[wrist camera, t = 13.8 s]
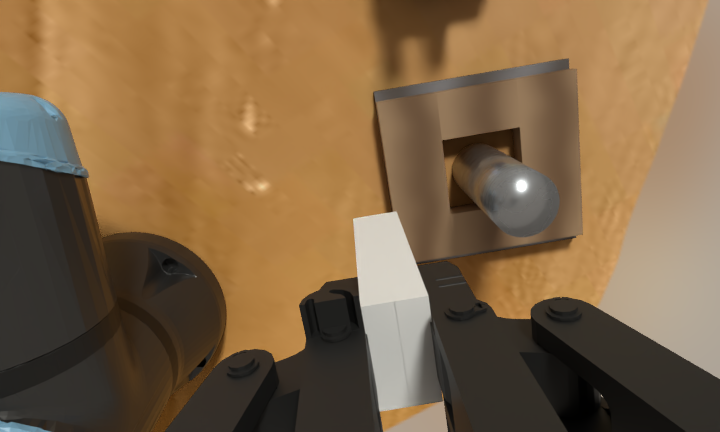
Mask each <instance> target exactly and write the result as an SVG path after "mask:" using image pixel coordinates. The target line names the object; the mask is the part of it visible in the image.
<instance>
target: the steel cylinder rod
mask: <svg viewBox="0 0 720 432" xmlns="http://www.w3.org/2000/svg"><path fill="white" fill-rule="evenodd" d="M452 174H453V178H454V180H455V182H456V183H457V185H458V186H459V187H460V188H461V189H462V190H463V191H464V192H465V193H466V194H467V195H468V196H469V197H470V198H471V199H472V200H473V201H474V202H475V203H476V204H477V205H478V207H479V208H480V209H481V210H482V211H483V212H484V213H485V214H486V215H487V216H488V217H489V218H490V219H491V220H492V221H493V222H494V223H495V224H496V225H497V226H498V227H499V228H500V229H501V230H502V231H503V232H505V233H506V234H508V235H511V236H514V237H530V236H534V235H536V234H538V233H540V232H542V231H543V230H545V229H546V228H547V227H548V226H549V225H550V224H551V223H552V222H553V220H554V219H555V217H556V215H557V213H558V209H559V204H560V199H559V193H558V190H557V188H556V186H555V184H554V183H553V182H552V180H550V179H549V178H548V177H547V176H545V175H543V174H542V173H540V172H538V171H536V170H534V169H532V168H530V167H529V166H527V165H525V164H523V163H521V162H519V161H518V160H516V159H514V158H512V157H510V156H508V155H506V154H505V153H503V152H501V151H499V150H497V149H495V148H493V147H492V146H490V145H487V144H483V143H475V144H471V145H468V146H466V147H465V148H463V149H462V150H461V151H460V152H459V153H458V154H457V156H456V157H455V159H454V162H453V166H452Z"/></svg>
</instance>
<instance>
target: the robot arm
mask: <svg viewBox="0 0 720 432" xmlns="http://www.w3.org/2000/svg"><path fill="white" fill-rule="evenodd" d="M88 177H89V174H88V171H87V170H86V169H85V168H84V167H83V166H82V164H81V161H80V158H79V155H78V152H77V149H76V146H75V143H74V140H73V137H72V133H71V130H70V127H69V124H68V122H67V119H66V118H65V116H64V115H63V113H62V112H61V111H60V110H59V109H58V108H57V107H56V106H55V105H53V104H52V103H50V102H49V101H47V100H45V99H42V98H40V97H37V96H33V95H28V94H20V93H8V92H0V432H152V431H153V429H154V427H155V425H156V423H157V421H158V420H159V418H160V416H161V414H162V412H163V410H164V408H165V406H166V404H167V402H168V400H169V398H170V396H171V395H172V394H174V393H175V392H176V391H178V390H179V389H180V388H181V387H183V386H184V385H185V384H187V383H188V382H189V381H191V380H192V379H193V378H194V377H196V376H197V375H198V374H199V373H200V372H201V371H202V370H203V369H204V368H205V367H206V366H207V364H208V363H209V362H210V360H211V359H212V357H213V355H214V354H215V352H216V349H217V347H218V345H219V343H220V341H221V338H222V336H223V332H224V329H225V324H226V305H225V300H224V296H223V292H222V290H221V287H220V285H219V283H218V281H217V279H216V277H215V276H214V274H213V273H212V271H211V270H210V269H209V267H208V266H207V265H206V264H205V263H204V262H203V261H202V260H201V259H200V258H199V257H198V256H197V255H196V254H194V253H193V252H192V251H190V250H189V249H188V248H186V247H184V246H183V245H181V244H179V243H177V242H175V241H173V240H170V239H168V238H165V237H162V236H158V235H154V234H149V233H140V232H128V233H119V234H114V235H110V236H106V237H104V238H101V234H100V230H99V226H98V222H97V218H96V214H95V210H94V206H93V202H92V198H91V194H90V190H89V186H88V182H87V178H88ZM353 222H354V235H355V248H356V261H357V273H358V277H355V278H349V279H343V280H337V281H331V282H326V283H325V284H324V285H323V286H322V287H321V289H320V290H318V291H316V292H314V293H312V294H309V295H308V296H307V297H305V298H304V299H303V300H302V301H301V303H300V305H299V307H300V312H301V317H302V321H303V326H304V330H305V335H306V345H305V349H304V350H302V351H301V352H299V353H297V354H296V355H293V356H291V357H289V358H286V359H283V360H281V361H278V362H275V361H274V358H273V356H272V354H271V353H269V352H267V351H265V350H258V349H253V350H243V351H240V352H239V353H238V352H237V353H234V354H232V355H231V356H229V357H227V358H226V359H224V360H222V361H221V362H220V363H219V364H218V365H217V366H216V367H215V368H214V369H213V370H212V371H211V373H210V374H209V375H208V377H207V378H206V379H205V380H204V382H203V383H202V384H201V386H200V387H199V388H198V389H197V391H196V392H195V393H194V395H193V396H192V397H191V398H190V400H189V401H188V402H187V404H186V405H185V406H184V407H183V409H182V410H181V411H180V413H179V414H178V415H177V416H176V418H175V419H174V420H173V421H172V423H171V424H170V425H169V427H168V428H167V429H166V430H165V432H383V429H382V422H381V417H380V411H386V410H392V409H398V408H404V407H410V406H417V405H423V404H429V403H435V402H441V401H443V400H442V393H443V397H444V405H445V412H446V419H447V426H448V432H720V379H718V378H717V377H715V376H713V375H712V374H710V373H708V372H706V371H704V370H703V369H701V368H699V367H698V366H696V365H694V364H693V363H691V362H689V361H687V360H686V359H684V358H682V357H681V356H679V355H677V354H675V353H674V352H672V351H670V350H669V349H667V348H665V347H663V346H661V345H660V344H658V343H656V342H655V341H653V340H651V339H650V338H648V337H646V336H644V335H643V334H641V333H639V332H638V331H636V330H634V329H632V328H631V327H629V326H627V325H626V324H624V323H622V322H620V321H619V320H617V319H615V318H614V317H612V316H610V315H608V314H607V313H605V312H603V311H601V310H600V309H598V308H596V307H595V306H593V305H591V304H589V303H586V302H584V301H582V300H577V299H572V298H568V297H562V298H560V297H555V298H552V299H547V300H543V301H541V302H539V303H537V304H535V305H534V306H533V307H532V309H531V319H506V318H501V317H497V316H496V314H495V313H494V311H493V309H492V308H491V307H490V306H489V305H488V304H487V303H485V302H482V301H480V300H477V299H476V298H475V296H474V294H473V292H472V291H471V289H470V287H469V286H468V284H467V283H466V280H465V279H464V277H463V276H462V273H461V272H460V270H459V268H458V267H457V266H455V265H453V264H451V263H449V262H447V261H444V262H438V263H431V264H425V265H419V266H417V264H416V262H415V259H414V256H413V254H412V251H411V249H410V246H409V243H408V241H407V238H406V235H405V233H404V230H403V227H402V225H401V222H400V219H399V217H398V214H397V212H390V213H384V214H378V215H372V216H366V217H360V218H354V219H353ZM441 390H442V393H441ZM601 395H602V396H603V397H601Z"/></svg>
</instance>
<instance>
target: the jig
mask: <svg viewBox="0 0 720 432" xmlns="http://www.w3.org/2000/svg"><path fill="white" fill-rule="evenodd" d="M374 98H375V104H376V111H377V117H378V124H379V130H380V137H381V143H382V150H383V157H384V163H385V170H386V176H387V183H388V189H389V196H390V202H391V209H392V212H397V214H398V217H399V219H400V222H401V225H402V227H403V230H404V233H405V235H406V238H407V241H408V243H409V246H410V249H411V251H412V254H413V256H414V259H415V262H416V264H421V263H427V262H433V261H439V260H445V259H451V258H457V257H463V256H469V255H475V254H481V253H487V252H493V251H499V250H505V249H511V248H517V247H523V246H529V245H535V244H541V243H547V242H554V241H560V240H566V239H572V238H576V236H577V235H583V224H582V197H581V169H580V142H579V115H578V88H577V69H569V59H561V60H555V61H550V62H544V63H538V64H532V65H526V66H521V67H515V68H509V69H503V70H497V71H491V72H486V73H480V74H474V75H468V76H462V77H456V78H451V79H445V80H439V81H433V82H427V83H421V84H416V85H410V86H404V87H398V88H392V89H387V90H381V91H375V92H374ZM506 129H512V132H513V145H514V158H515V159H516V160H518V161H519V162H521V163H523V164H525V165H527V166H529V167H530V168H532V169H534V170H536V171H538V172H540V173H542V174H543V175H545V176H547V177H548V178H549V179H550V180H552V182H553V183H554V184H555V186H556V188H557V190H558V193H559V199H560V204H559V209H558V213H557V215H556V217H555V219H554V220H553V222H552V223H551V224H550V225H549V226H548V227H547V228H546V229H545V230H543V231H542V232H540V233H538V234H536V235H534V236H530V237H514V236H511V235H508V234H506V233H505V232H503V231H502V230H501V229H500V228H499V227H498V226H497V225H496V224H495V223H494V222H493V221H492V220H491V219H490V218H489V217H488V216H487V215H486V214H485V213H484V212H483V211H482V210H481V209H480V208H479V207H478V205H477V204H476V203H474V204H468V205H462V206H456V207H450V204H449V196H448V187H447V179H446V170H445V162H444V153H443V144H442V140H447V139H453V138H459V137H464V136H470V135H476V134H482V133H488V132H494V131H500V130H506Z"/></svg>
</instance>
